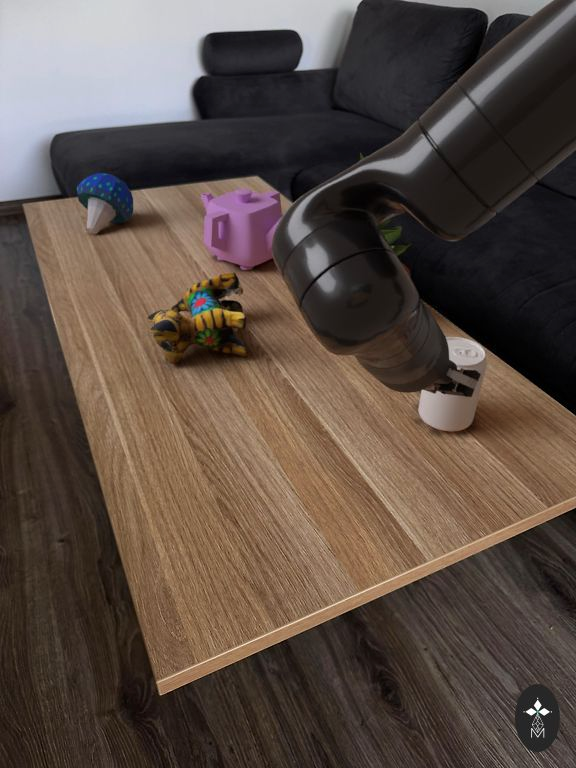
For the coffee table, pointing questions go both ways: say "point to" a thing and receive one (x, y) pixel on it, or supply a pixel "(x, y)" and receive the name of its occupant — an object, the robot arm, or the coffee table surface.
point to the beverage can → (452, 408)
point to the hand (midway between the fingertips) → (432, 383)
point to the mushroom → (105, 200)
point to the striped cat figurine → (202, 319)
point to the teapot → (241, 226)
